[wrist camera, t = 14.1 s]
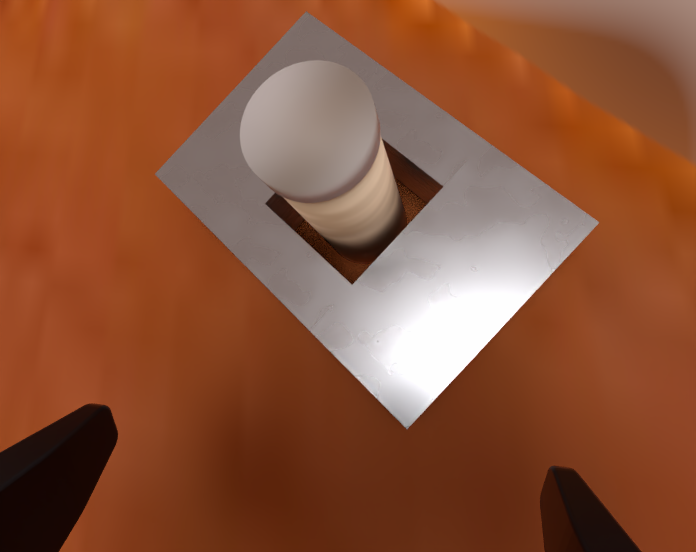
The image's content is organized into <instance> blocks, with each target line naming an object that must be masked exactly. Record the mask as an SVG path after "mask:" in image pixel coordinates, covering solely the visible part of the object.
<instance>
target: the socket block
mask: <svg viewBox="0 0 696 552" xmlns="http://www.w3.org/2000/svg"><path fill="white" fill-rule="evenodd" d="M313 60H321V61H329V62H334V63H337V64H340V65H343V66H345V67H346V68H348V69H350V70H352V71H353V72H354V73H356V74H357V75H358V76H359V77H360V78H361V79H362V80H363V82H364V83H365V84H366V86H367V87H368V89H369V91H370V93H371V95H372V99H373V102H374V105H375V108H376V111H377V115H378V118H379V122H380V128H381V138H382V141H383V144H384V147H385V150H386V154H387V157H388V160H389V163H390V166H391V169H392V172H393V175H394V177H395V178H396V179H397V180H399V181H400V182H401V183H402V184H403V185H405V186H406V187H407V188H408V189H410V190H411V191H412V192H413V193H415V194H416V195H417V196H418V197H420V198H421V199H422V200H423V201H425V202H426V203H427V205H426V206H425V207H424V208H423V209H422V210H421V212H420V213H419V214H418V215H417V216H416V217H415V218H414V219H413V220H412V221H411V222H410V223H409V224H408V226H407V227H406V228H405V229H404V230H403V231H402V232H401V233H400V234H399V235H398V236H397V237H396V238H395V240H394V241H393V242H392V243H391V244H390V245H389V246H388V247H387V248H386V249H385V250H384V251H383V252H382V253H381V255H380V256H379V257H378V258H377V259H376V260H375V261H374V262H373V263H372V264H371V265H370V266H369V267H368V269H367V270H366V271H365V272H364V273H363V274H362V275H361V276H360V277H359V278H358V279H357V280H356V281H355V283H354V284H353V285H352V284H351V283H350V282H349V281H348V280H347V279H346V278H345V277H344V276H343V275H342V274H341V273H339V272H338V271H337V270H336V269H335V268H334V267H333V266H332V265H331V264H330V263H329V262H328V261H327V260H326V259H324V258H323V257H322V256H321V255H320V254H319V253H318V252H317V251H316V250H315V249H314V248H313V247H312V246H311V245H309V244H308V243H307V242H306V241H305V240H304V239H303V238H302V237H301V236H300V235H299V234H298V233H297V232H296V231H295V229H296V228H297V227H298V226H299V225H300V224H301V223H302V222H303V221H304V220H305V219H304V218H303V217H302V216H301V215H300V214H299V213H298V212H297V211H296V210H295V209H294V208H293V207H292V206H291V205H290V204H289V203H288V202H287V201H286V200H285V199H284V198H283V197H282V196H280V195H278V194H277V193H275V192H274V191H272V190H271V189H270V188H269V187H268V186H267V185H266V184H265V183H264V182H263V181H262V180H261V179H260V178H259V177H258V176H257V175H256V174H255V173H254V172H253V171H252V169H251V168H250V167H249V165H248V164H247V162H246V160H245V158H244V155H243V153H242V149H241V144H240V126H241V120H242V117H243V114H244V111H245V108H246V106H247V104H248V102H249V100H250V99H251V97H252V96H253V94H254V93H255V92H256V90H257V89H258V88H259V87H260V86H261V85H262V84H263V83H264V82H265V81H266V80H267V79H268V78H269V77H271V76H272V75H273V74H275V73H276V72H278V71H280V70H282V69H284V68H285V67H288V66H290V65H293V64H296V63H300V62H305V61H313ZM155 175H156V176H157V177H158V178H159V179H160V180H161V181H162V182H163V183H164V184H165V185H166V186H167V187H168V188H169V189H170V190H171V191H172V192H173V193H174V194H175V195H176V196H177V197H178V198H179V199H180V200H181V201H182V202H183V203H184V204H185V205H186V206H187V207H188V208H189V209H190V210H191V211H192V212H193V213H194V214H195V215H196V216H197V217H198V218H199V219H200V220H201V221H202V222H203V223H204V224H205V225H206V226H207V227H208V228H209V229H210V230H211V231H212V232H213V233H214V234H215V235H216V236H217V237H218V238H219V239H220V240H221V241H222V242H223V244H224V245H225V246H226V247H227V248H228V249H229V250H230V251H231V252H232V253H233V254H234V255H235V256H236V257H237V258H238V259H239V260H240V261H241V262H242V263H243V264H244V265H245V266H246V267H247V268H248V269H249V270H250V271H251V272H252V273H253V274H254V275H255V276H256V277H257V278H258V279H259V280H260V281H261V282H262V283H263V284H264V285H265V286H266V287H267V288H268V289H269V290H270V291H271V292H272V293H273V294H274V295H275V296H276V297H277V298H278V299H279V300H280V301H281V302H282V303H283V304H284V305H285V306H286V307H287V308H288V309H289V310H290V311H291V312H292V313H293V314H294V315H295V316H296V317H297V318H298V319H299V320H300V321H301V322H302V323H303V324H304V325H305V327H306V328H307V329H308V330H309V331H310V332H311V333H312V334H313V335H314V336H315V337H316V338H317V339H318V340H319V341H320V342H321V343H322V344H323V345H324V346H325V347H326V348H327V349H328V350H329V351H330V352H331V353H332V354H333V355H334V356H335V357H336V358H337V359H338V360H339V361H340V362H341V363H342V364H343V365H344V366H345V367H346V368H347V369H348V370H349V371H350V372H351V373H352V374H353V375H354V376H355V377H356V378H357V379H358V380H359V381H360V382H361V383H362V384H363V385H364V386H365V387H366V388H367V389H368V390H369V391H370V392H371V393H372V394H373V395H374V396H375V397H376V398H377V399H378V400H379V401H380V402H381V403H382V404H383V405H384V406H385V407H386V408H387V410H388V411H389V412H390V413H391V414H392V415H393V416H394V417H395V418H396V419H397V420H398V421H399V422H400V423H401V424H402V425H403V426H404V427H405V428H406V429H408V428H409V427H410V426H411V425H412V423H413V422H414V421H415V420H416V419H417V418H418V417H419V416H420V415H421V414H422V413H423V412H424V411H425V409H426V408H427V407H428V406H429V405H430V404H431V403H432V402H433V401H434V400H435V399H436V398H437V397H438V395H439V394H440V393H441V392H442V391H443V390H444V389H445V388H446V387H447V386H448V385H449V384H450V383H451V381H452V380H453V379H454V378H455V377H456V376H457V375H458V374H459V373H460V372H461V371H462V370H463V369H464V367H465V366H466V365H467V364H468V363H469V362H470V361H471V360H472V359H473V358H474V357H475V356H476V355H477V353H478V352H479V351H480V350H481V349H482V348H483V347H484V346H485V345H486V344H487V343H488V342H489V341H490V339H491V338H492V337H493V336H494V335H495V334H496V333H497V332H498V331H499V330H500V329H501V328H502V327H503V325H504V324H505V323H506V322H507V321H508V320H509V319H510V318H511V317H512V316H513V315H514V314H515V313H516V312H517V310H518V309H519V308H520V307H521V306H522V305H523V304H524V303H525V302H526V301H527V300H528V299H529V298H530V296H531V295H532V294H533V293H534V292H535V291H536V290H537V289H538V288H539V287H540V286H541V285H542V284H543V282H544V281H545V280H546V279H547V278H548V277H549V276H550V275H551V274H552V273H553V272H554V271H555V270H556V268H557V267H558V266H559V265H560V264H561V263H562V262H563V261H564V260H565V259H566V258H567V257H568V256H569V254H570V253H571V252H572V251H573V250H574V249H575V248H576V247H577V246H578V245H579V244H580V243H581V242H582V240H583V239H584V238H585V237H586V236H587V235H588V234H589V233H590V232H591V231H592V230H593V229H594V228H595V226H596V225H597V224H598V223H599V222H598V221H596V220H595V219H594V218H592V217H591V216H589V215H588V214H587V213H585V212H584V211H582V210H581V209H580V208H578V207H577V206H576V205H574V204H573V203H571V202H570V201H569V200H567V199H566V198H564V197H563V196H562V195H560V194H559V193H558V192H556V191H555V190H553V189H552V188H551V187H549V186H548V185H546V184H545V183H544V182H542V181H541V180H539V179H538V178H537V177H535V176H534V175H533V174H531V173H530V172H528V171H527V170H526V169H524V168H523V167H521V166H520V165H519V164H517V163H516V162H514V161H513V160H512V159H510V158H509V157H508V156H506V155H505V154H503V153H502V152H501V151H499V150H498V149H496V148H495V147H494V146H492V145H491V144H489V143H488V142H487V141H485V140H484V139H483V138H481V137H480V136H478V135H477V134H476V133H474V132H473V131H471V130H470V129H469V128H467V127H466V126H465V125H463V124H462V123H460V122H459V121H458V120H456V119H455V118H453V117H452V116H451V115H449V114H448V113H446V112H445V111H444V110H442V109H441V108H440V107H438V106H437V105H435V104H434V103H433V102H431V101H430V100H428V99H427V98H426V97H424V96H423V95H421V94H420V93H419V92H417V91H416V90H415V89H413V88H412V87H410V86H409V85H408V84H406V83H405V82H403V81H402V80H401V79H399V78H398V77H397V76H395V75H394V74H392V73H391V72H390V71H388V70H387V69H385V68H384V67H383V66H381V65H380V64H378V63H377V62H376V61H374V60H373V59H372V58H370V57H369V56H367V55H366V54H365V53H363V52H362V51H360V50H359V49H358V48H356V47H355V46H353V45H352V44H351V43H349V42H348V41H347V40H345V39H344V38H342V37H341V36H340V35H338V34H337V33H335V32H334V31H333V30H331V29H330V28H328V27H327V26H326V25H324V24H323V23H322V22H320V21H319V20H317V19H316V18H315V17H313V16H312V15H310V14H309V13H308V12H305V13H304V15H303V16H302V17H301V18H300V19H299V20H298V21H297V22H296V23H295V24H294V25H293V26H292V27H291V29H290V30H289V31H288V32H287V33H286V34H285V35H284V36H283V37H282V38H281V39H280V40H279V41H278V43H277V44H276V45H275V46H274V47H273V48H272V49H271V50H270V51H269V52H268V53H267V54H266V55H265V56H264V58H263V59H262V60H261V61H260V62H259V63H258V64H257V65H256V66H255V67H254V68H253V69H252V70H251V72H250V73H249V74H248V75H247V76H246V77H245V78H244V79H243V80H242V81H241V82H240V83H239V84H238V85H237V87H236V88H235V89H234V90H233V91H232V92H231V93H230V94H229V95H228V96H227V97H226V98H225V99H224V101H223V102H222V103H221V104H220V105H219V106H218V107H217V108H216V109H215V110H214V111H213V112H212V113H211V114H210V116H209V117H208V118H207V119H206V120H205V121H204V122H203V123H202V124H201V125H200V126H199V127H198V128H197V130H196V131H195V132H194V133H193V134H192V135H191V136H190V137H189V138H188V139H187V140H186V141H185V142H184V143H183V145H182V146H181V147H180V148H179V149H178V150H177V151H176V152H175V153H174V154H173V155H172V156H171V157H170V159H169V160H168V161H167V162H166V163H165V164H164V165H163V166H162V167H161V168H160V169H159V170H158V171H157V172H156V174H155Z"/></svg>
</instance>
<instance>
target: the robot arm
mask: <svg viewBox="0 0 696 552" xmlns="http://www.w3.org/2000/svg"><path fill="white" fill-rule="evenodd" d="M117 439H118V431H117V428H116V425H115V422H114V419H113V416H112V413H111V410H110V408H109V407H108V406H106V405H100V404H87V405H85V406H83V407H81V408H79V409H77V410H75V411H74V412H72V413H70V414H68V415H66V416H65V417H63V418H61V419H59V420H58V421H56V422H54V423H52V424H50V425H49V426H47V427H45V428H43V429H41V430H40V431H38V432H36V433H34V434H32V435H31V436H29V437H27V438H25V439H23V440H22V441H20V442H18V443H16V444H15V445H13V446H11V447H9V448H7V449H6V450H4V451H2V452H0V552H59V550H60V549H61V547H62V546H63V544H64V542H65V541H66V539H67V537H68V536H69V534H70V532H71V531H72V529H73V527H74V526H75V524H76V522H77V521H78V519H79V517H80V515H81V514H82V512H83V510H84V508H85V506H86V504H87V502H88V500H89V498H90V496H91V494H92V492H93V490H94V488H95V486H96V484H97V482H98V480H99V478H100V476H101V474H102V472H103V470H104V468H105V466H106V464H107V462H108V459H109V457H110V455H111V453H112V451H113V449H114V447H115V445H116V442H117ZM540 509H541V519H542V528H543V538H544V548H545V552H641V550H640V549H639V548H638V547H637V546H636V544H635V543H634V542H633V541H632V539H631V538H630V537H629V536H628V534H627V533H626V532H625V531H624V530H623V528H622V527H621V526H620V525H619V523H618V522H617V521H616V520H615V518H614V517H613V516H612V515H611V513H610V512H609V511H608V510H607V509H606V507H605V506H604V505H603V504H602V502H601V501H600V500H599V499H598V497H597V496H596V495H595V494H594V493H593V491H592V490H591V489H590V488H589V486H588V485H587V484H586V483H585V481H584V480H583V479H582V478H581V476H580V475H579V474H578V473H577V472H576V471H575V470H574V469H572V468H567V467H559V466H551V467H550V468H549V470H548V472H547V476H546V479H545V482H544V485H543V488H542V492H541V497H540Z"/></svg>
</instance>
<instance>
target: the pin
mask: <svg viewBox="0 0 696 552" xmlns="http://www.w3.org/2000/svg"><path fill="white" fill-rule="evenodd" d="M240 144H241V149H242V153H243V155H244V158H245V160H246V162H247V164H248V165H249V167H250V168H251V169H252V171H253V172H254V173H255V174H256V175H257V176H258V177H259V178H260V179H261V180H262V181H263V182H264V183H265V184H266V185H267V186H268V187H269V188H270V189H271V190H272V191H274V192H275V193H277V194H278V195H280V196H282V197H283V198H284V199H285V200H286V201H287V202H288V203H289V204H290V205H291V206H292V207H293V208H294V209H295V210H296V211H297V212H298V213H299V214H300V215H301V216H302V217H303V218H304V219H305V220H306V221H307V222H308V223H309V224H310V225H311V226H312V227H313V228H314V229H315V230H316V231H317V232H318V233H319V234H320V235H321V236H322V237H323V238H324V239H325V240H326V241H327V242H328V243H329V244H330V245H331V246H332V247H333V248H334V249H335V250H336V251H337V252H338V253H339V254H340V255H341V256H343V257H344V258H346V259H348V260H350V261H352V262H356V263H362V264H368V263H373V262H374V261H375V260H376V259H377V258H378V257H379V256H380V255H381V253H382V252H383V251H384V250H385V249H386V248H387V247H388V246H389V245H390V244H391V243H392V242H393V241H394V240H395V238H396V237H397V236H398V235H399V234H400V233H401V232H402V231H403V230H404V229H405V228H406V227H407V218H406V213H405V210H404V207H403V204H402V200H401V197H400V194H399V191H398V188H397V185H396V182H395V179H394V175H393V172H392V169H391V166H390V163H389V160H388V157H387V154H386V150H385V147H384V144H383V141H382V138H381V128H380V122H379V118H378V115H377V111H376V108H375V105H374V102H373V99H372V95H371V93H370V91H369V89H368V87H367V86H366V84H365V83H364V82H363V80H362V79H361V78H360V77H359V76H358V75H357V74H356V73H354V72H353V71H352V70H350V69H348V68H346V67H345V66H343V65H340V64H337V63H334V62H329V61H321V60H313V61H305V62H300V63H296V64H293V65H290V66H288V67H285V68H284V69H282V70H280V71H278V72H276V73H275V74H273V75H272V76H271V77H269V78H268V79H267V80H266V81H265V82H264V83H263V84H262V85H261V86H260V87H259V88H258V89H257V90H256V92H255V93H254V94H253V96H252V97H251V99H250V100H249V102H248V104H247V106H246V108H245V111H244V114H243V117H242V120H241V126H240Z"/></svg>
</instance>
